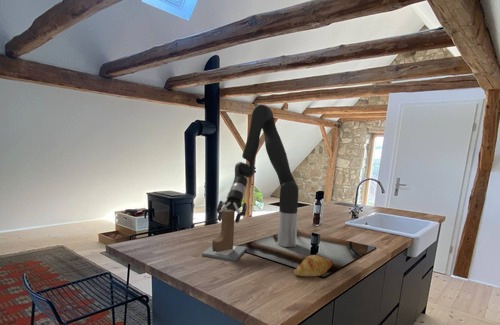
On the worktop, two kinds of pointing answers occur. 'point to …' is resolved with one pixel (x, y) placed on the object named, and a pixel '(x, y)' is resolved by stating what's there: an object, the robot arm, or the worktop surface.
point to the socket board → (225, 253)
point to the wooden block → (225, 232)
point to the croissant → (313, 266)
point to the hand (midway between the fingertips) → (227, 221)
